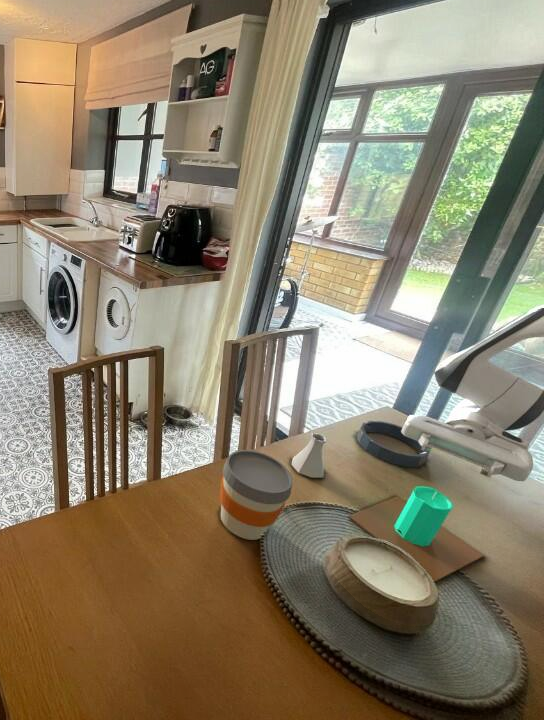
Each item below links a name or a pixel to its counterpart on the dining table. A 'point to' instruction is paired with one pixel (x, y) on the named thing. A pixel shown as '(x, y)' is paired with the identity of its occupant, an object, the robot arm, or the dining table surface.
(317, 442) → the flask
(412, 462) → the ring
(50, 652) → the dining table surface
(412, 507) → the candle
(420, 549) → the mat
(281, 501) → the reusable coffee cup
